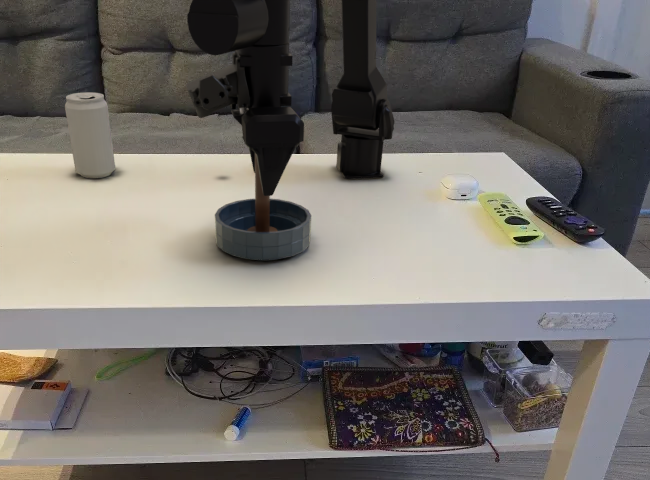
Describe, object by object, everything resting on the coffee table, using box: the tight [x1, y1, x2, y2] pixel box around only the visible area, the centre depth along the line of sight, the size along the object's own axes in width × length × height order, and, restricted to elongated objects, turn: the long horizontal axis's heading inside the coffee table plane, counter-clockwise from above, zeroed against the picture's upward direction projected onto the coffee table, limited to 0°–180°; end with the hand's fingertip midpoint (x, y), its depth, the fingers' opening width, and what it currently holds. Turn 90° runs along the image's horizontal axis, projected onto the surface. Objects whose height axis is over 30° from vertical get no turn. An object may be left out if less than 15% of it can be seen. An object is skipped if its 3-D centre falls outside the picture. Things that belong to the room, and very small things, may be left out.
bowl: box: [214, 198, 312, 262], centre depth 85 cm, size 12×12×4 cm
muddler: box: [247, 153, 278, 232], centre depth 82 cm, size 4×4×11 cm
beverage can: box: [64, 91, 116, 179], centre depth 105 cm, size 6×6×12 cm
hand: (262, 183), depth 81 cm, fingers open, 8 cm apart
